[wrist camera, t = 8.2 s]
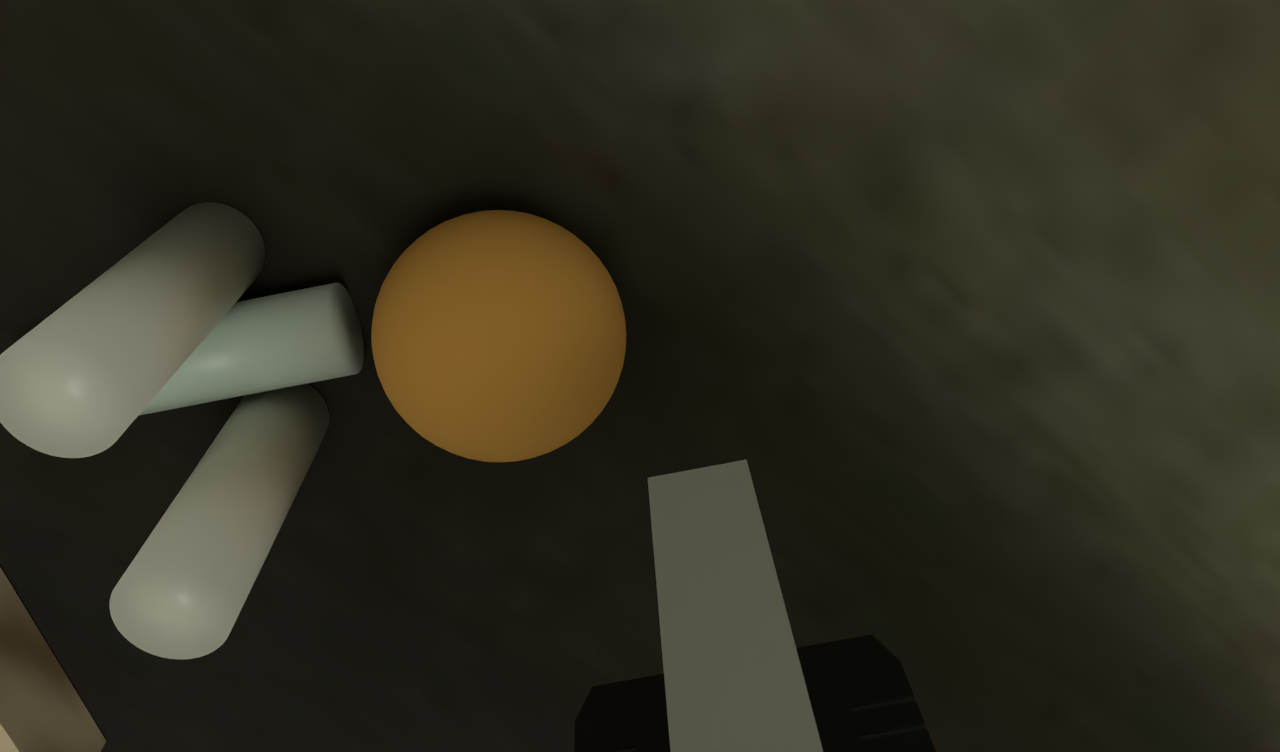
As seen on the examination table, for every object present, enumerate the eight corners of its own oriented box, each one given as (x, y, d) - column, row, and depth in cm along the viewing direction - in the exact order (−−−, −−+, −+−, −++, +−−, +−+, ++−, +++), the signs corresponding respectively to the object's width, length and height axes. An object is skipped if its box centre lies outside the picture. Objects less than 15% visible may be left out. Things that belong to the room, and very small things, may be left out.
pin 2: (341, 442, 28) (249, 647, 21) (260, 458, 28) (139, 668, 21) (312, 368, 27) (205, 556, 19) (228, 385, 27) (89, 578, 20)
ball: (628, 512, 23) (366, 516, 23) (630, 377, 28) (417, 380, 28) (620, 274, 19) (318, 280, 20) (624, 171, 25) (384, 175, 25)
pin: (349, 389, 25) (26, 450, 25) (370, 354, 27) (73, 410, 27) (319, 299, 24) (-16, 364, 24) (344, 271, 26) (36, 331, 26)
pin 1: (278, 281, 26) (149, 444, 18) (191, 299, 26) (26, 468, 18) (245, 193, 25) (91, 328, 17) (154, 212, 25) (-39, 354, 17)
